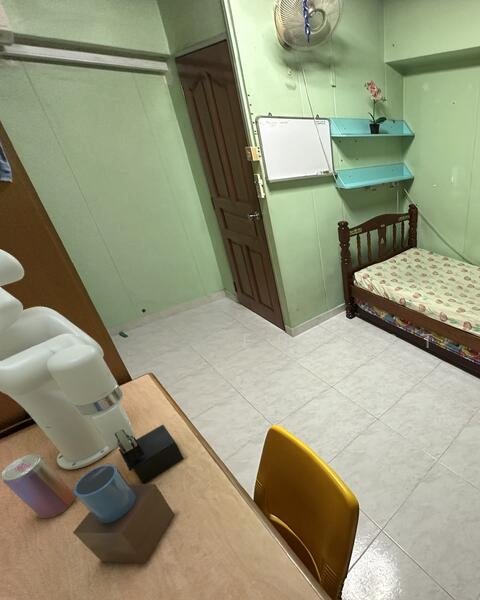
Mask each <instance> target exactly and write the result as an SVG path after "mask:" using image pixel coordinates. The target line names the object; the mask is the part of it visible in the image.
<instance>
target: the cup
mask: <svg viewBox="0 0 480 600" xmlns="http://www.w3.org/2000/svg"><path fill="white" fill-rule="evenodd" d="M128 484H129V483H128V482H127V480H126V479H125V478H124V476H123V474H122V473H121V472H120V470H119V469H118V468H117V466H116V465H114V464H111V463H110V464H101V465H99V466H97V467H94V468H93V469H91V470H89V471H88V472H86V473H85V474H83V475H82V476H81V478H79V479H78V481H77V482H76V483H75V485H74V487H73V492H74V497H76V498H77V499H78V501H79V502H80V503H81V504H82V505H83V506H84V507H85V508H86V510H87V511H88V513H89V512H90V513H91V514H92V515H93V516H94V517H95V519H96V520H97V521H98V522H100V523H110V522H113V521H115V520H117V519H119V518H121V517H122V516H123V515H125V514H126V513H127V512H128V511H129V510H130V509H131V507H132V506H133V504H134V502H135V499H136V495H135V493H134V492H133V490H132V489H131V487H130V486H129V485H128Z"/></svg>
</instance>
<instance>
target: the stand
mask: <svg viewBox="0 0 480 600" xmlns="http://www.w3.org/2000/svg"><path fill="white" fill-rule="evenodd" d="M128 485H129V486H130V487H131V489H132V490H133V492H134V493H135V495H136V499H135V502H134V504H133V506H132V507H131V509H130V510H129V511H128V512H127V513H126V514H125V515H123V516H122V517H121V518H119V519H117V520H115V521H113V522H110V523H100V522H98V521H97V520H96V519H95V517H94V516H93V515H92V514H91V513H90V512H89V511H88V513H87V514H86V516H84V517H83V519H82V521H81V522H80V523H79V524H78V525H77V527H76V528H75V529H74V530H73V532H72V533H73V534H74V536H76V537H77V538H78V539H79V541H80V542H82V543H83V544H84V546H86V547H87V549H88V550H90V551H91V553H93V555H94V556H95V557H96V558H98V560H99V561H100V562H101V563H119V564H120V563H121V564H122V563H123V564H125V563H128V564H132V563H133V564H147V563H148V561H149V559H150V558H151V556H152V554H153V553H154V551H155V549H156V547H157V546H158V545H159V542H160V541H161V540H162V537H163V535H164V534H165V533H166V530H168V528H169V526H170V524H171V522H172V520H173V519H174V517H175V515H176V514H175V513H174V511H173V509H172V508H171V506H170V505H169V503H168V502H167V500H166V499H165V497H164V495H163V494H162V492H161V491H160V489H159V487H158V485H157V484H156V483H147V484H143V483H128Z"/></svg>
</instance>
